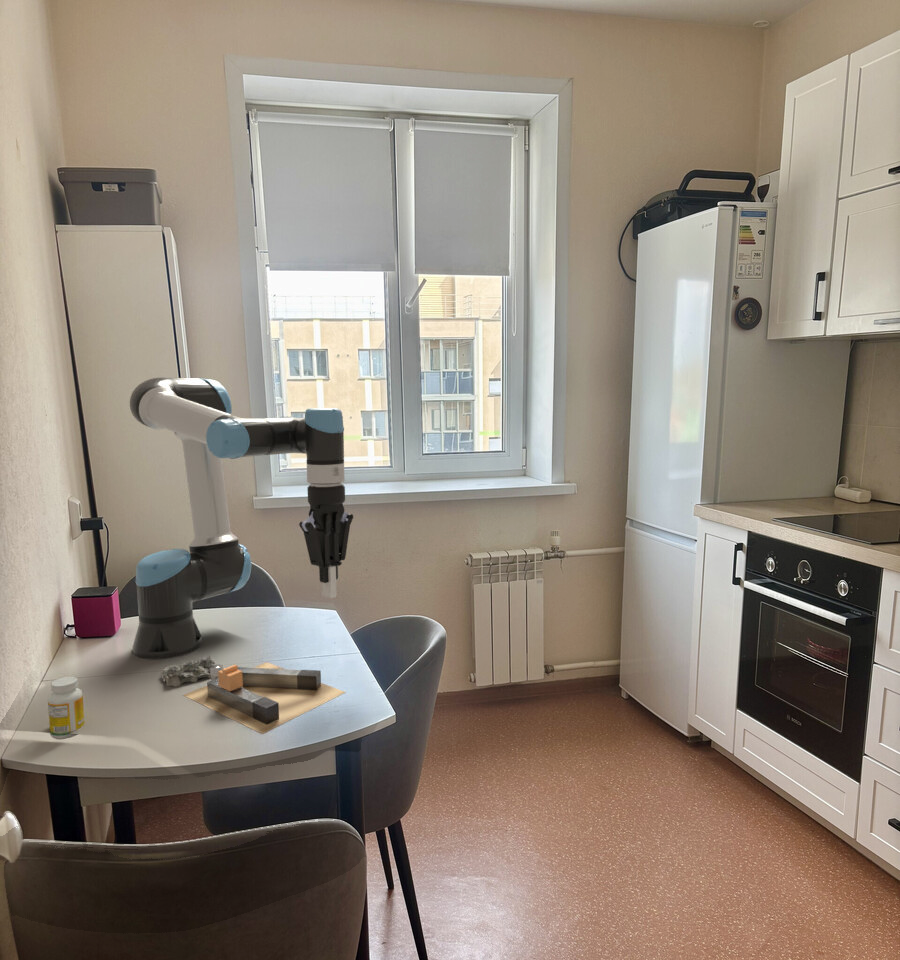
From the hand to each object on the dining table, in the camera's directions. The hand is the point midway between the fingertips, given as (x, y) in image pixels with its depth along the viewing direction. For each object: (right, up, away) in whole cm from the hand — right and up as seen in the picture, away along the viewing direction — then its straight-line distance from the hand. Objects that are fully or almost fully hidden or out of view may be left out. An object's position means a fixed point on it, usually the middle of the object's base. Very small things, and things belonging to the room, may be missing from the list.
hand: (329, 596), depth 134 cm
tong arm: (-11, -18, -3) cm, 21 cm away
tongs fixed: (-15, -19, -10) cm, 26 cm away
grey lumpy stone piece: (-30, -19, +2) cm, 35 cm away
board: (-12, -19, -6) cm, 23 cm away
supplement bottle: (-43, -21, -19) cm, 52 cm away
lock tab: (-17, -16, -11) cm, 25 cm away
